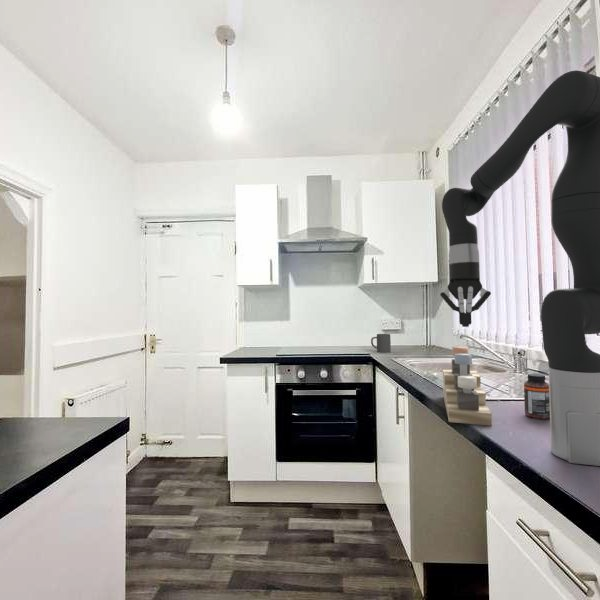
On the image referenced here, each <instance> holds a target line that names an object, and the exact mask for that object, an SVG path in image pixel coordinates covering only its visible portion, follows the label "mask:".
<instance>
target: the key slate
mask: <svg viewBox="0 0 600 600" xmlns="http://www.w3.org/2000/svg"><path fill="white" fill-rule="evenodd" d="M454 359H455V364H460V376H467V365H470V366H471V365H473V355H472V354H470V353H468V354H455V356H454Z"/></svg>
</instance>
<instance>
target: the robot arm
mask: <svg viewBox="0 0 600 600" xmlns="http://www.w3.org/2000/svg"><path fill="white" fill-rule="evenodd" d="M557 125H559V126H563V127H565V129H566V137H567V139H566V140H567V153H566V159H565V162H564V164H563V167H562V169H561V171H560V173H559V175H558V176H557V178H556V181H555V182H554V184H553V185H554V186H553V188H552V191H551V198H550V199H551V200H550V204H551V205H550V208H551V209H550V214H551V215H550V216H551V217H550V218H551V221H550V222H551V226H552V230H553V232H554V234H555V236H556V238H557V240H558V242H559V243H560V245H561V247H562V248H563V250H564V251H565V254H566V255H567V256H568V259H569V261H570V263H571V267H572V272H573V274H572V277H573V288H559V289H558V288H556V289H554V290H551V291H549V292H548V293H547V294H546V295H545V297H544V299H543V300H542V304H541V309H540V318H541V319H540V322H541V323H540V324H541V333H542V345H543V352H544V353H545V356H546V357H547V360H548V362H547V363H548V384H549V401H550V418H549V426H550V427H549V428H550V430H549V431H550V451H551V453H552V454H553V455H554V456H556V457H558V458H561V459H562V460H565V461H567V463H570V464H577V465H586V466H595V467H596V466H597V467H600V353H597V352H595V351H593V350H592V349H590V347H588V345H587V340H586V335H598V334H600V76H597V75H595V74H592V73H588V72H586V71H581V70H571V71H567V72H565V73H563V74H561V75H559V76H558V77H557V78H556V79H554V80H553V81H552V83H550V85H549V86H548V87H547V88H546V89H545V90H544V91H543V92H542V94H541V95H540V96H539V98H538V99H537V100H536V101H535V103H534V104H533V105H532V107H531V108H530V109H529V110H528V112H527V113H526V114H525V116H523V118H522V120H521V121H520V122H519V123H518V124H517V126H516V127H515V128H514V130H513V131H512V132H511V133H510V135H509V136H508V138H506V140H505V141H504V142H503V143H502V145H501V146H500V147H498V149H497V150H496V151H495V152H494V153H493V154H492V155H491V156H490V157H489V158H488V159H487V160H486V161H485V162H484V163H482V165H481V166H480V167H478V168H477V169H476V171H474V173H473V174H472V175H471V176H470V180H469V181H470V185H471V187H472V188H470V189H467V188H459V187H452V188H450V189H448V190H447V191H446V192H445V193H444V195H443V197H442V200H441V201H442V202H441V209H442V214H443V218H444V221H445V223H446V227H447V231H448V233H449V234H448V235H449V239H448V240H449V244H448V245H449V247H448V248H449V249H448V276H449V277H448V280H449V281H448V285H447V288H446V289H445V290H444V291H443V292H440V295H439V296H440V297H441V298H442V299H443V301H444V302H445V303H446V304H447V305H448V306H449V308H451V309H452V311H454V312H458V319H459V321H458V322H459V325H460V326H462V327H464V328H469V327H470V325H471V324H472V313H473V312H475V311H478V310H479V309H480V308H481V307H482V305H483V304H484V303H485V302H486V301H487V300H488V299H489V297H490V296H491V294H492V292H491V291H488V290H487V289H486V288H484V287H483V284H482V283H481V280H480V279H481V276H480V275H481V273H480V271H481V270H480V251H479V246H478V245H479V244H478V243H479V241H478V239H479V238H478V237H479V236H478V227H477V225H476V224H475V223H473V222H472V221H471V222H470V221H469V220H468V218H467V217H472V216H475V215H476V214H479V213H480V212H481V211H482V210H483V209H484V208H485V206H486V204H487V203H488V202H489V201H490V200H491V198H492V196H493V195H494V193H495V192H496V191H497V190H498V189H500V188H501V187H502V186H503V185H505V184H506V183H507V182H508V181H510V179H511V178H512V177H514V175H515V174H516V173H517V172H518V171H519V169H520V168H521V166H522V164H523V163H524V161H525V159H526V157H527V156H528V153H529V151H530V150H531V149H532V147H533V146H534V144H535V143H536V142H537V141H538V140H539V139H540V138H541V137H542V136H543V135H544V134H546V133H547V132H548V131H550V130H551V129H553V128H554V127H556V126H557ZM478 294H479V296H480V298H479V299H478V300H477V302H475V304H474V305H473V300H474V299H475V298H476V297H477V295H478ZM451 295H452V297H454V298H455V300H457V305H456V304H455V302H454V301H453V300H451V298H450V297H451Z"/></svg>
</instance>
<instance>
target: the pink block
mask: <svg viewBox="0 0 600 600" xmlns="http://www.w3.org/2000/svg"><path fill="white" fill-rule="evenodd" d="M451 349H452V350H451V351H452V353H451V355H452V356H453V357H455V354H469V347H467V346H452V347H451Z"/></svg>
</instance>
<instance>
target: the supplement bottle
mask: <svg viewBox="0 0 600 600" xmlns="http://www.w3.org/2000/svg"><path fill="white" fill-rule="evenodd" d="M523 393H524V394H523V397H524V398H523V399H524V403H523V404H524V415H526V416H527V417H529V418H532V419H538V420H547V419H550V401H549V382H548V383H547V382H546V375H544V374H542V373H533V372H532V373H528V374H527V381H525V382H524V383H523Z"/></svg>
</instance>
